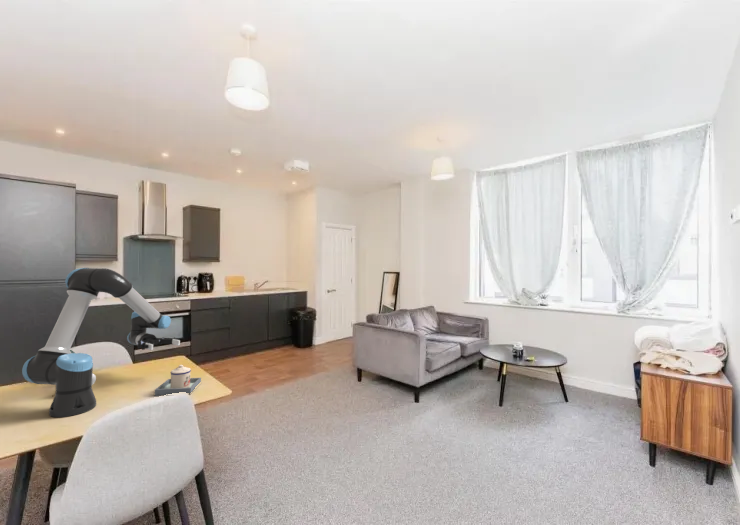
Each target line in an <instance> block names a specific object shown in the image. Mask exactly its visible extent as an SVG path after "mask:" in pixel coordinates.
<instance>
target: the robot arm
mask: <svg viewBox="0 0 740 525" xmlns="http://www.w3.org/2000/svg"><path fill="white" fill-rule="evenodd" d="M66 275H67V276H66V277H65V281H64V282H65V287H66V288H67V290H66V293H67V295H68V297H67V298H66V300H65V303H64V304H63V307H62V309H61V311H60V314H59V316H58V318H57V321H56V323H55V324H54V327H53V329H52V330H51V333H50V335H49V337H48V340H47V341H46V344H45V346H44V347H42V348H40V349H38V350H37V352H36V355H34V356H31V357H30V358H29V359H27V360H26V361H25V362H24V364H23V366H22V369H21V371H22V372H21V374H22V377H23V378H24V380H25V381H27V382H29V383H32V384H36V385H53V386H55V395H54V398H53V399H52V402H51V405H50V406H49V410H48V411H49V412H48V415H49V416H50V417H52V418H65V417H66V418H67V417H71V416H72V417H73V416H77V415H80V414H83V413H85V412H89V411H91V410H93V409H94V408H96V406H97V398H96V396H95V394H94V390H93V388H92V386H93V385H92V373H93V372H94V371H93V370H94V369H93V366H94V362H93V357H92V356H91V355H90V354H88V353H83V352H82V353H81V352H77V353H71V351H70V350H71V349H72V348H71V347H72V345H73V344H74V341H75V338H76V336H77V334H78V331H79V329H80V327H81V324H82V323H83V320H84V318H85V315H86V313H87V311H88V308H89V307H90V304H91V302H92V301H93V300H95V299H97V298H98V295H99V293H106V294H109V295H111V296H112V297H114V298H115V299H119V300H121V301H122V302H123V303H124V304H125V305H127V306H128V307H129V308H130V309H132V311H133V312H132V313H131V318H130V332H129V333H128V335H127V337H126V340H127V342H128V343H129V344H131V345H134V346H137V349H138V350H140V349H141V350H142V351H144V350H145V349H146V350H149V351H153V350H154V346H157V345H162V344H163V345H164V344H165V345H166V344H169V345H171V344H172V345H174V346H180V345H181V340H180V339H178V338H177V337H164V336H163V337H157V336H156V335H155V334H152V333H149V332H147V329H156V330H157V329H159V330H161V329H162V330H163V329H164V330H165V329H168V328H169V327H170V325H171V323H172V320H171V317H170V316H168V315H164V314H161V313H160V312H159V311H158V310H157V309H156V308H155V306H153V305H152V304H150V302H148V301H147V299H145V298H144V296H142V295H141V294H140V293H139V292H138V291H137V290H136V289H135V288H133V287H134V286H133V283H132V282H130V280H128V278H126V277H125V276H124V275H122V274H121V273H118V272H117V271H116V270H113V269H109V268H105V267H104V268H102V267H100V268H98V267H97V268H95V267H93V268H92V267H81V268H76V269H73V270H71V271H70V272H69V273H68V274H66Z"/></svg>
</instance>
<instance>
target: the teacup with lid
mask: <svg viewBox="0 0 740 525" xmlns="http://www.w3.org/2000/svg"><path fill="white" fill-rule="evenodd" d="M191 372H192V369H191V368H190V367H187V366H184V365H183V364H179V365H178V367H176V368H174V369H172V370H171V371H170V379H171V388H170V389H172V388H189V387H190V378H191Z"/></svg>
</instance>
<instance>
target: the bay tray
mask: <svg viewBox="0 0 740 525" xmlns="http://www.w3.org/2000/svg"><path fill="white" fill-rule="evenodd" d="M200 382H201V383H202V377H190V387H189V388H172V389H170V388H171V378H167V379H166V380H165V381H164V382H162V383H161V384H160V385H159V386H158V387H156V388H155V389H154V397H160V396H161V395H166V394H172V393H179V392H186V393H191V392H192V391H193V390H194V389H195V387H196V386H197V385H198V384H199V383H200ZM195 390H196V389H195ZM195 390H194V391H195ZM194 391H193V392H194ZM193 392H192V393H193ZM192 393H191V394H192ZM166 396H167V395H166Z"/></svg>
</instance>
